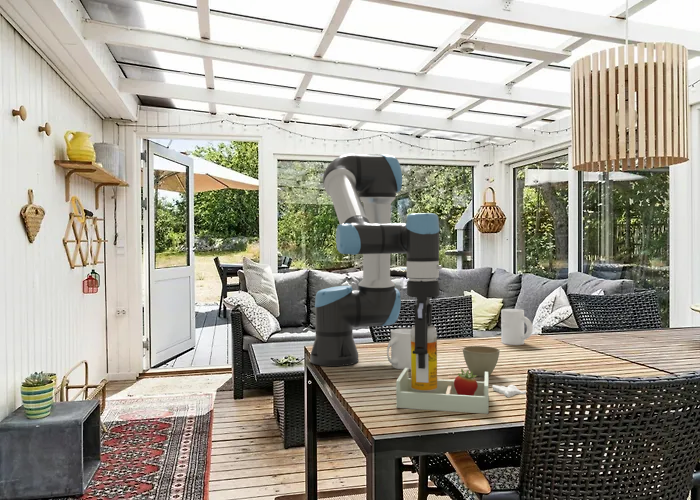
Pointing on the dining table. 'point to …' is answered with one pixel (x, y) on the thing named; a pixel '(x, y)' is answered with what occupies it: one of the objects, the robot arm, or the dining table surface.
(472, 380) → the fruit
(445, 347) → the dining table surface
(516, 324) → the mug
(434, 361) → the beer can
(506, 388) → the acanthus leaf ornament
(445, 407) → the crate
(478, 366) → the flower pot
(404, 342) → the mug
